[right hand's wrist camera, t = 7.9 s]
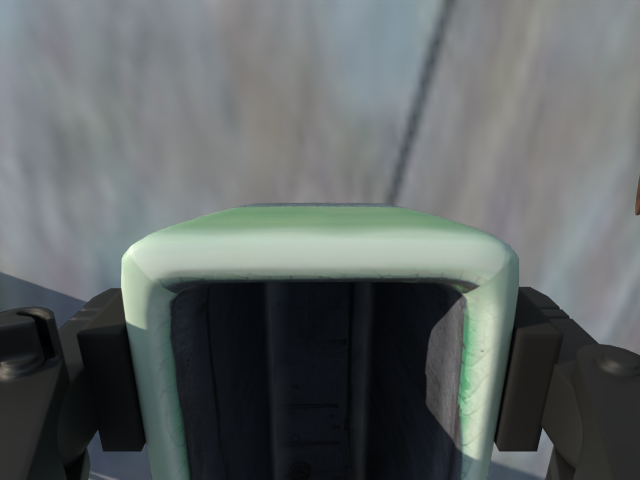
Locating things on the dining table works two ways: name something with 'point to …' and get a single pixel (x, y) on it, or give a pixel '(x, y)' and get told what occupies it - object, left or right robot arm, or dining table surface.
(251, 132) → the dining table surface
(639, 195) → the fork
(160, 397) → the planter
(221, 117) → the dining table surface
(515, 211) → the dining table surface
